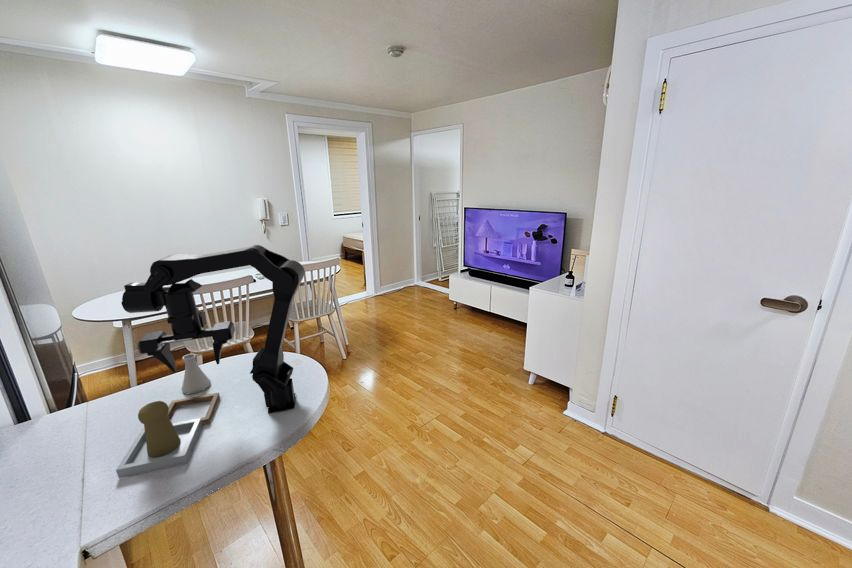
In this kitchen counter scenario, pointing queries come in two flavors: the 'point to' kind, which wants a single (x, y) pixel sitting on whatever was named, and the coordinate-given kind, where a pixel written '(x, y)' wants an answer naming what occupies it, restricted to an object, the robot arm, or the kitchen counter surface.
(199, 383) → the flask
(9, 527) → the kitchen counter surface
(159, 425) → the cork
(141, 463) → the tray
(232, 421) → the kitchen counter surface
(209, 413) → the wooden picture frame
